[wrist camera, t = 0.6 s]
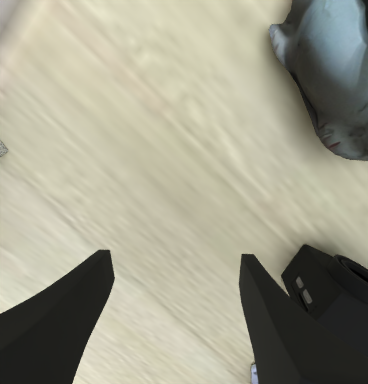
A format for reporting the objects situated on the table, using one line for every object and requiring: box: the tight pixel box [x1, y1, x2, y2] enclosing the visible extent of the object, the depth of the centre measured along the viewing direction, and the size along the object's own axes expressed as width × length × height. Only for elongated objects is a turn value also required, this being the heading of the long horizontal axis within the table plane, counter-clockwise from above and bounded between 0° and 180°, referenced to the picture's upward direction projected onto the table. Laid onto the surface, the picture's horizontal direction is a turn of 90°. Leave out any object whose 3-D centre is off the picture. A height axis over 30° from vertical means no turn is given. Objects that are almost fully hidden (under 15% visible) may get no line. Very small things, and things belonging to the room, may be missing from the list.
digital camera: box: [281, 244, 368, 357], centre depth 20 cm, size 10×5×7 cm, turn 66°
